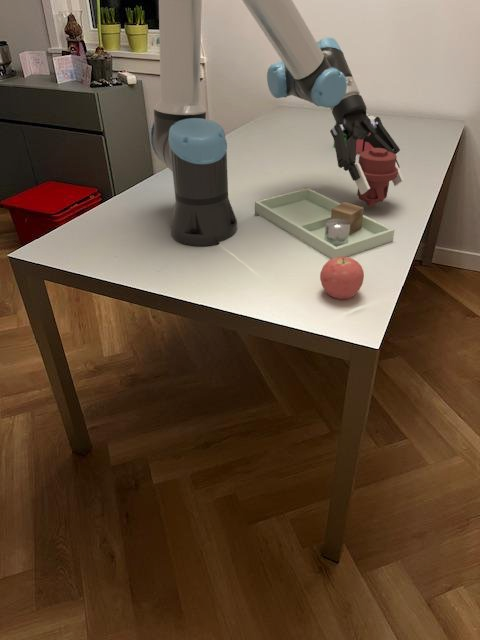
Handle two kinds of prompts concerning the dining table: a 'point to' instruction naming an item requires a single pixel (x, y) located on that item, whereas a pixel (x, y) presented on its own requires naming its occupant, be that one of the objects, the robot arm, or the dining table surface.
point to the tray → (319, 222)
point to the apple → (342, 277)
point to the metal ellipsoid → (337, 232)
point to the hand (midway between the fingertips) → (382, 187)
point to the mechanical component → (377, 173)
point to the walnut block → (349, 215)
